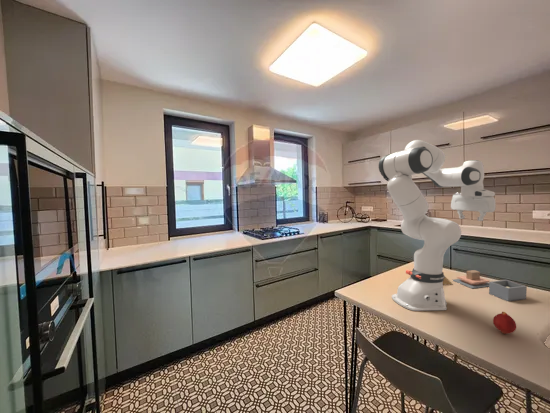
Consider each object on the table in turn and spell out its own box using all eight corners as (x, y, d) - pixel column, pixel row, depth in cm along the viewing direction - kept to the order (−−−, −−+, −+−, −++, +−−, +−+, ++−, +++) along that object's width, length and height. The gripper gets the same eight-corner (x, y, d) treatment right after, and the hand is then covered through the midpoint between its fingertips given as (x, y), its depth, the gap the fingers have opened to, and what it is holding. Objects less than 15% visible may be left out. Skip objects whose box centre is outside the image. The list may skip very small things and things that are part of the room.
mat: (472, 288, 118) (472, 287, 118) (452, 280, 129) (452, 279, 129) (494, 285, 120) (494, 285, 120) (473, 278, 131) (473, 277, 131)
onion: (503, 328, 85) (504, 307, 84) (520, 338, 79) (521, 315, 79) (488, 329, 85) (489, 308, 84) (504, 339, 79) (505, 316, 78)
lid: (472, 286, 119) (472, 275, 119) (457, 280, 128) (457, 269, 127) (489, 284, 121) (489, 273, 121) (473, 278, 129) (473, 268, 129)
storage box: (508, 301, 104) (508, 288, 103) (489, 293, 112) (489, 281, 111) (526, 299, 105) (526, 286, 105) (506, 291, 113) (506, 279, 113)
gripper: (448, 192, 127) (447, 217, 128) (487, 192, 107) (486, 222, 108) (457, 192, 129) (457, 217, 129) (498, 192, 108) (497, 221, 109)
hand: (470, 219), depth 119 cm, fingers open, 8 cm apart
